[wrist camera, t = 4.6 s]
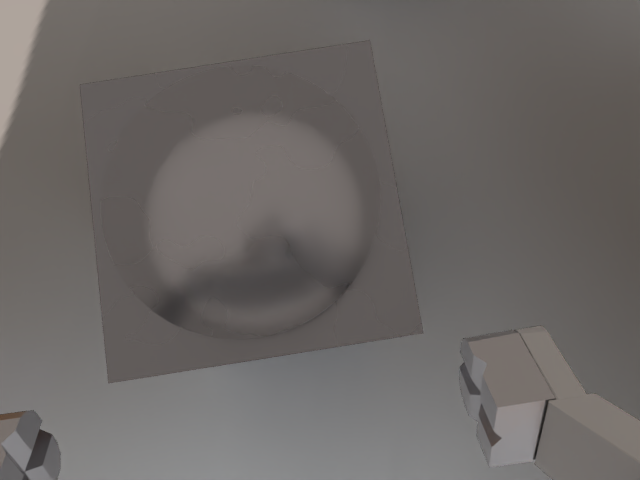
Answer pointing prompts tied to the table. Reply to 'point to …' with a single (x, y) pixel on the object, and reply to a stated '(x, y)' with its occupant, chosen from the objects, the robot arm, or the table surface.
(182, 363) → the grey metal block
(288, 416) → the table surface
